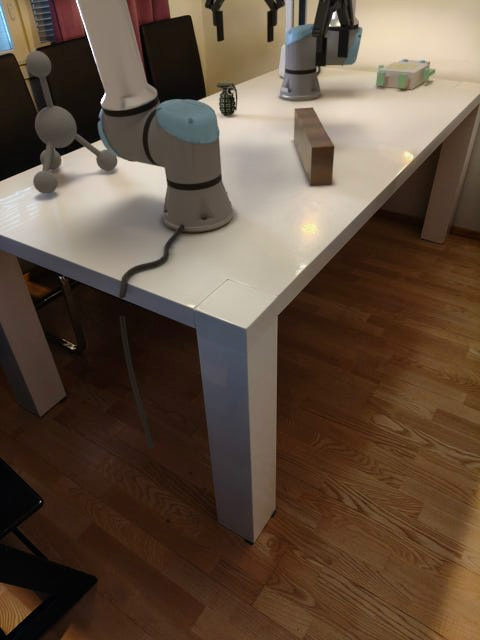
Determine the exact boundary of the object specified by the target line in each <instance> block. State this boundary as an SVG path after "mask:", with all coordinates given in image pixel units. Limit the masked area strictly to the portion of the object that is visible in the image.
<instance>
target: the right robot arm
mask: <svg viewBox="0 0 480 640" xmlns="http://www.w3.org/2000/svg"><path fill="white" fill-rule="evenodd" d="M356 8H357V0H318V3H317V7H316V12H315V16H314V21H313V23H307V24H306V25H301V26H298V25H296V26H294V27H293V28H291V29H289V30H288V31H287V32H286V31H285V40H284V44H285V76H284V78H283V80H282V84H281V87H280V91H279V98H280V99H282V100H285V101H292V102H304V101H305V102H306V101H311V100H316V99H318V98H320V97H321V91H322V90H321V86H320V81H319V78H318V75H319V73H320V72H321V70H322V69H321V67H324V68H325V67H327V66H341V67H343V66H351V65H354V64H355V63H356V61H357V60H358V59H357V58H358V55H359V51H360V45H361V42H362V41H361V40H362V34H363V27H361V26H359V25H360V21H359V19H358V18H357V17H356ZM317 69H318V70H317Z"/></svg>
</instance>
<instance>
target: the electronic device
mask: <svg viewBox="0 0 480 640" xmlns="http://www.w3.org/2000/svg"><path fill="white" fill-rule="evenodd" d="M297 21H298V23H297V24H298V25H297V26H301V25H306V24H308V0H298V20H297ZM294 22H295V0H285V33H286V32H287V31H288V30H289V29H291V28H293V27H295V26H294V25H295V23H294ZM278 74H279V75H280V76H281V78H283V79H284V76H285V43H283V45H282V46H281V48H280V57H279V67H278Z"/></svg>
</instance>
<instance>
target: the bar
mask: <svg viewBox="0 0 480 640" xmlns="http://www.w3.org/2000/svg"><path fill="white" fill-rule="evenodd" d="M293 116H294V118H293V119H294V120H293V121H294V123H293V125H294V126H293V128H294V129H293V142H294V145H295V147H296V151H297V153H298V155H299V158H300V161H301V164H302V167H303V169H304V172H305V175H306V178H307V181H308V182H309V185H310V186H324V185H333V175H334V174H333V173H334V161H335V160H334V157H335V145H334V143H333V141H332V139H331V137H330V136H329V134H328V132H327V131H326V130H327V129H325V126H324V125H323V123H322V121H321V120H320V118H319V115H318V114H317V112H316V111H315V109H314V107H295V108H294V115H293Z"/></svg>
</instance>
